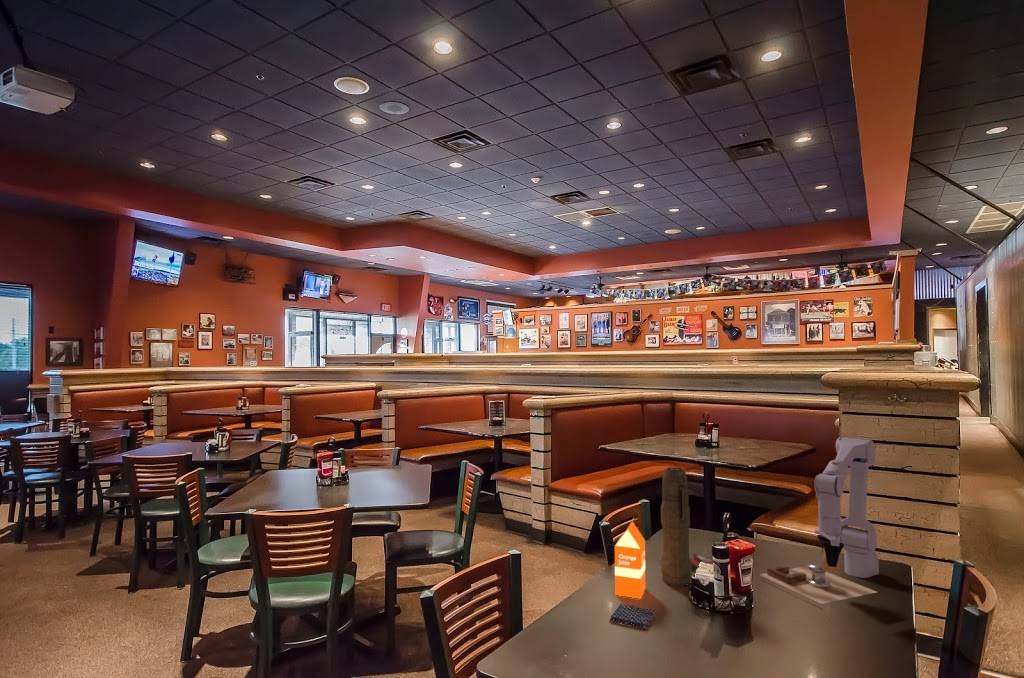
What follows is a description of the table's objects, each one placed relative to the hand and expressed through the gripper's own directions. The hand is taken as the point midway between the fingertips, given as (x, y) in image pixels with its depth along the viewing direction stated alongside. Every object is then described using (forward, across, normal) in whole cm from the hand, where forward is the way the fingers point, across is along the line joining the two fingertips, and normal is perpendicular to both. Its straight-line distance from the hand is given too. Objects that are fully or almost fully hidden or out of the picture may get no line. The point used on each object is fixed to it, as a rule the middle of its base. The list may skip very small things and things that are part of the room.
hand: (830, 563), depth 164 cm
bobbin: (+9, -7, -2) cm, 11 cm away
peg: (+2, 0, 0) cm, 2 cm away
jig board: (+10, -8, -3) cm, 13 cm away
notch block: (+9, -9, -10) cm, 17 cm away
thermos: (+10, 0, -43) cm, 44 cm away
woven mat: (+11, +30, -53) cm, 62 cm away
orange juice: (+11, +13, -56) cm, 58 cm away
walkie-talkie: (+11, -14, -36) cm, 40 cm away
